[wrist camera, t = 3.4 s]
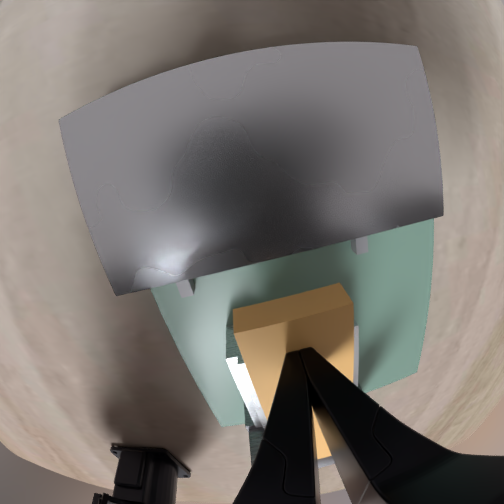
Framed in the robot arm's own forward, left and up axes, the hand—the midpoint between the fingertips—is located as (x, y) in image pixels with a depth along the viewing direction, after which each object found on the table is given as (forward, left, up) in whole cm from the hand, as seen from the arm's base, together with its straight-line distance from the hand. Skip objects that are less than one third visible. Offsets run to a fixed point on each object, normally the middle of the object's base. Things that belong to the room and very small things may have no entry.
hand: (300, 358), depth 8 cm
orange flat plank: (-4, 0, -2) cm, 5 cm away
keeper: (+6, 0, -5) cm, 8 cm away
